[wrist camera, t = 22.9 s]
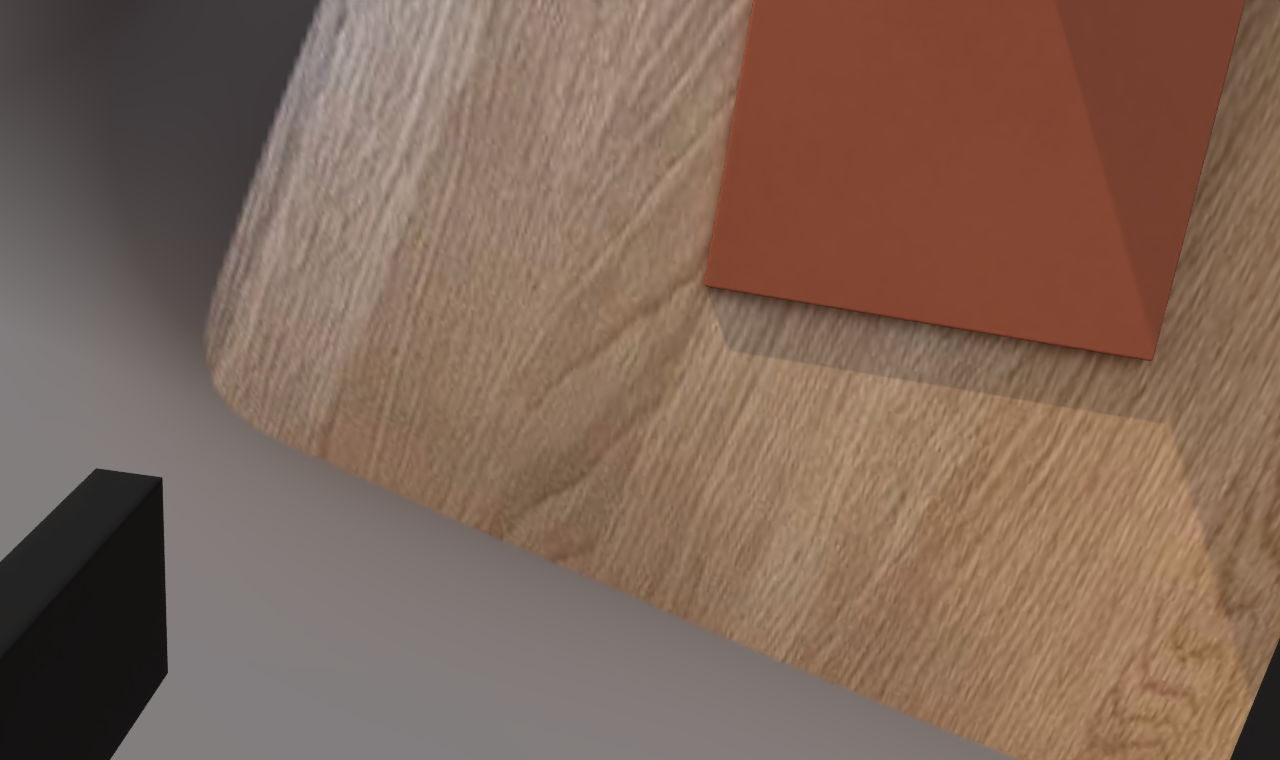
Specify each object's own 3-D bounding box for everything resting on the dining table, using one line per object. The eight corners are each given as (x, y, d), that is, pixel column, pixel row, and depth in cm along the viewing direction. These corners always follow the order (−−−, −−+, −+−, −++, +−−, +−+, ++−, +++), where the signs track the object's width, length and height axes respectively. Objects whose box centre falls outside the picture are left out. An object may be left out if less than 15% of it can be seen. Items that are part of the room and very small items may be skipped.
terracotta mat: (703, 283, 37) (704, 286, 37) (774, -119, 35) (774, -123, 34) (1146, 358, 37) (1153, 361, 36) (1248, -41, 35) (1257, -45, 34)
